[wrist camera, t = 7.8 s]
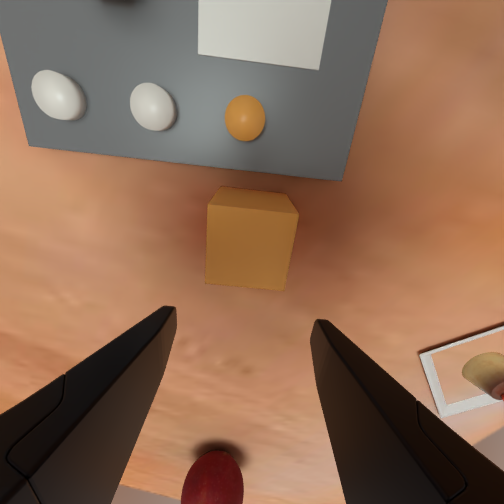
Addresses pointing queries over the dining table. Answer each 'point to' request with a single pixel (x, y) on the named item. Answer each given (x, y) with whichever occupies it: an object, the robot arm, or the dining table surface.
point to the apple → (213, 480)
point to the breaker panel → (195, 79)
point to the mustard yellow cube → (249, 238)
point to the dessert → (469, 378)
